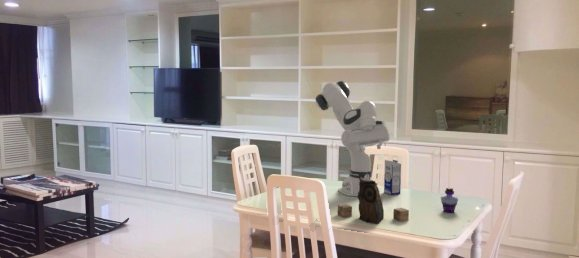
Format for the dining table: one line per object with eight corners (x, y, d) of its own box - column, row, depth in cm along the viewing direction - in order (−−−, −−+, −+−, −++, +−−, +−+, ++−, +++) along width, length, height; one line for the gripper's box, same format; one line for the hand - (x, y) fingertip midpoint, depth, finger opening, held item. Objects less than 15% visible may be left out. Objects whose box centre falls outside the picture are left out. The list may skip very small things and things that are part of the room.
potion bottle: (459, 210, 235) (460, 187, 234) (456, 214, 227) (456, 191, 226) (442, 208, 239) (442, 185, 238) (438, 212, 232) (438, 189, 231)
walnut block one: (337, 215, 227) (337, 205, 226) (345, 214, 229) (345, 203, 229) (343, 217, 222) (343, 207, 222) (351, 216, 225) (351, 206, 224)
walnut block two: (393, 219, 220) (393, 208, 220) (401, 217, 223) (401, 207, 222) (400, 221, 216) (400, 211, 216) (408, 220, 218) (408, 209, 218)
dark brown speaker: (378, 225, 211) (379, 182, 209) (352, 221, 216) (352, 179, 214) (384, 217, 222) (385, 177, 220) (359, 214, 227) (360, 175, 225)
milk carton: (383, 192, 274) (384, 159, 272) (393, 191, 277) (393, 158, 275) (391, 195, 268) (391, 161, 266) (400, 193, 270) (401, 160, 268)
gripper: (347, 127, 237) (347, 149, 229) (387, 120, 230) (388, 143, 222) (350, 134, 242) (350, 156, 233) (389, 128, 235) (391, 150, 226)
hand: (369, 149), depth 228 cm, fingers open, 8 cm apart
